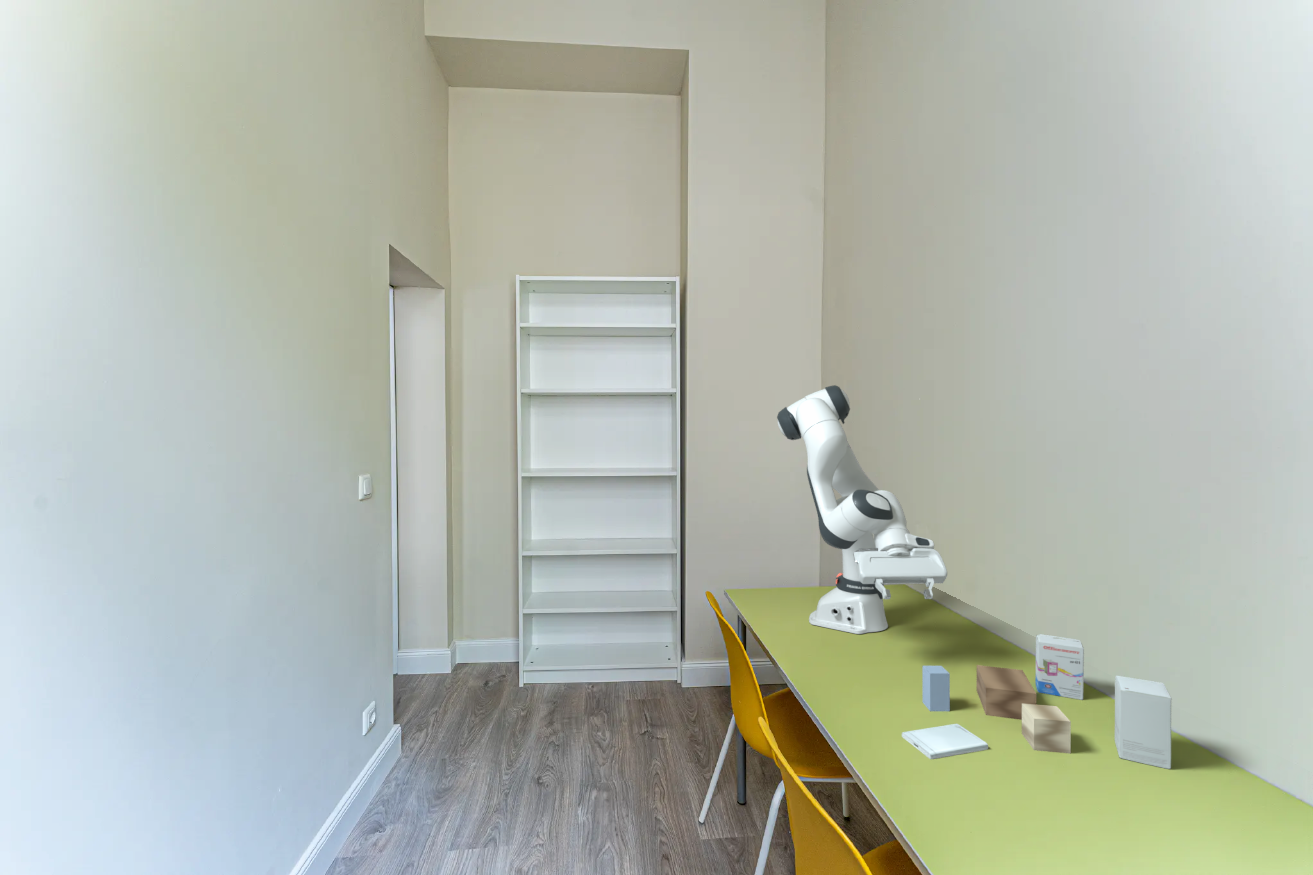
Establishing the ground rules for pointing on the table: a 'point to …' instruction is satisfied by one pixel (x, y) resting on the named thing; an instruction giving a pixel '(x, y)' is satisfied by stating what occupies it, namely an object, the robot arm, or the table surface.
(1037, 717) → the maple cube
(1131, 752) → the supplement box
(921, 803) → the table surface
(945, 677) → the slate post
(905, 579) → the robot arm
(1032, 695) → the walnut block
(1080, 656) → the ink box
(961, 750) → the hard drive
